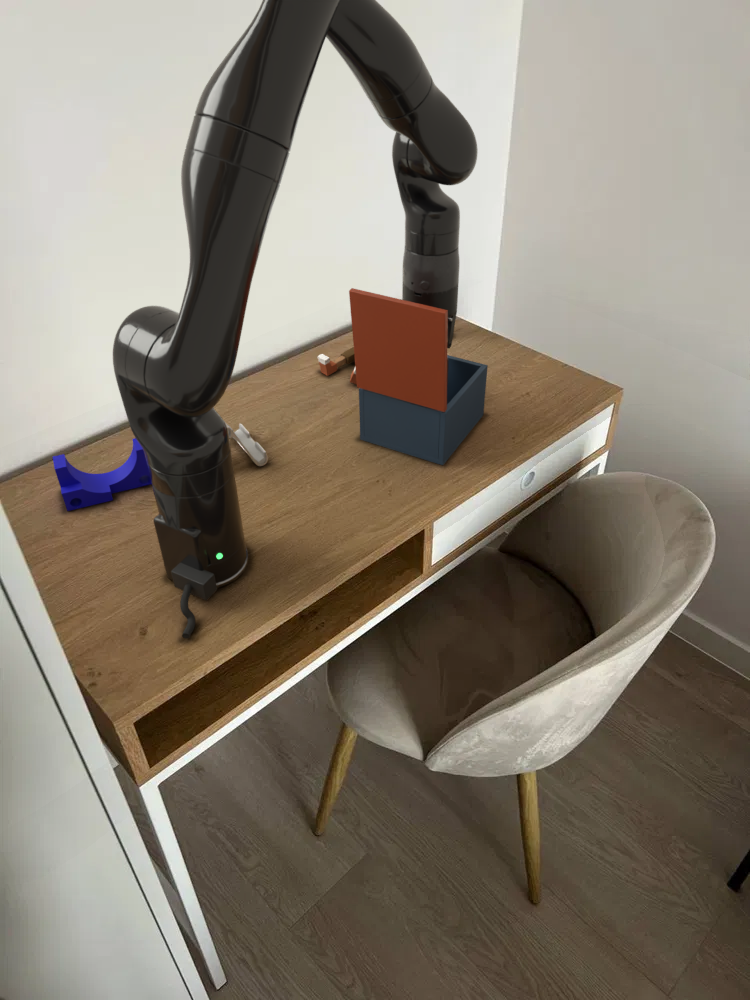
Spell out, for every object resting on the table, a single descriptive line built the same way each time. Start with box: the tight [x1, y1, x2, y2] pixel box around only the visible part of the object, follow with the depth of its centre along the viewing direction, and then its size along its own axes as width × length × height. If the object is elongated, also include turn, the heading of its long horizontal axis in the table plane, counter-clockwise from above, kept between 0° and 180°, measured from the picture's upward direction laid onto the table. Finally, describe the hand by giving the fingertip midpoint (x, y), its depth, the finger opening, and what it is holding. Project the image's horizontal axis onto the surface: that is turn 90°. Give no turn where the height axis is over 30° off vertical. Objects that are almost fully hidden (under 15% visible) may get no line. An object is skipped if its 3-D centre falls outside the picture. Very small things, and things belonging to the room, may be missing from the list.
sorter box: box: [358, 354, 489, 466], centre depth 120 cm, size 15×14×9 cm
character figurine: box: [316, 346, 357, 385], centre depth 138 cm, size 12×5×18 cm
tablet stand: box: [213, 406, 269, 467], centre depth 115 cm, size 9×8×8 cm
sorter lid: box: [348, 287, 448, 412], centre depth 107 cm, size 15×14×1 cm
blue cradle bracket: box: [52, 437, 152, 512], centre depth 110 cm, size 12×4×6 cm, turn 112°
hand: (427, 387), depth 120 cm, fingers closed on walnut block, 4 cm apart
